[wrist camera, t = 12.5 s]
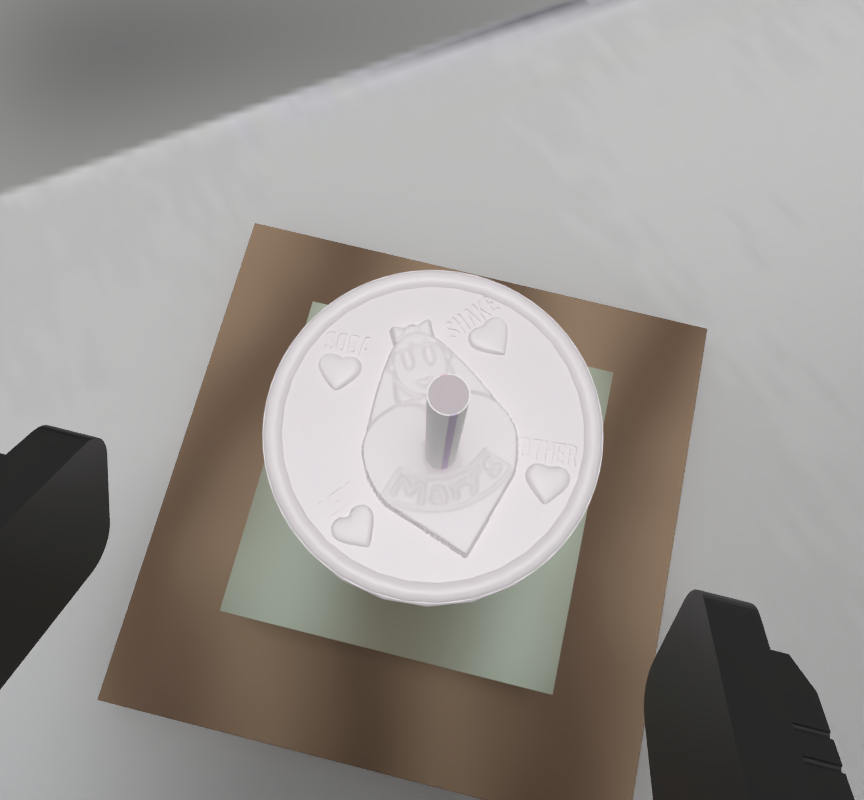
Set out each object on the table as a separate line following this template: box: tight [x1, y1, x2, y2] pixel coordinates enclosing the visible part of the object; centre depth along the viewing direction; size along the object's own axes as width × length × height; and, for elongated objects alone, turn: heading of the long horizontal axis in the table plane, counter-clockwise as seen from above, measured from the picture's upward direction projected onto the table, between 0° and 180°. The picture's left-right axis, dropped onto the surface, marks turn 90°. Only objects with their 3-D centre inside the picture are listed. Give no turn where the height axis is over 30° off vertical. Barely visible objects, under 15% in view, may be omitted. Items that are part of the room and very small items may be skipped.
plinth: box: [98, 223, 707, 800], centre depth 26 cm, size 18×18×5 cm
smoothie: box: [262, 270, 603, 607], centre depth 16 cm, size 6×6×14 cm
